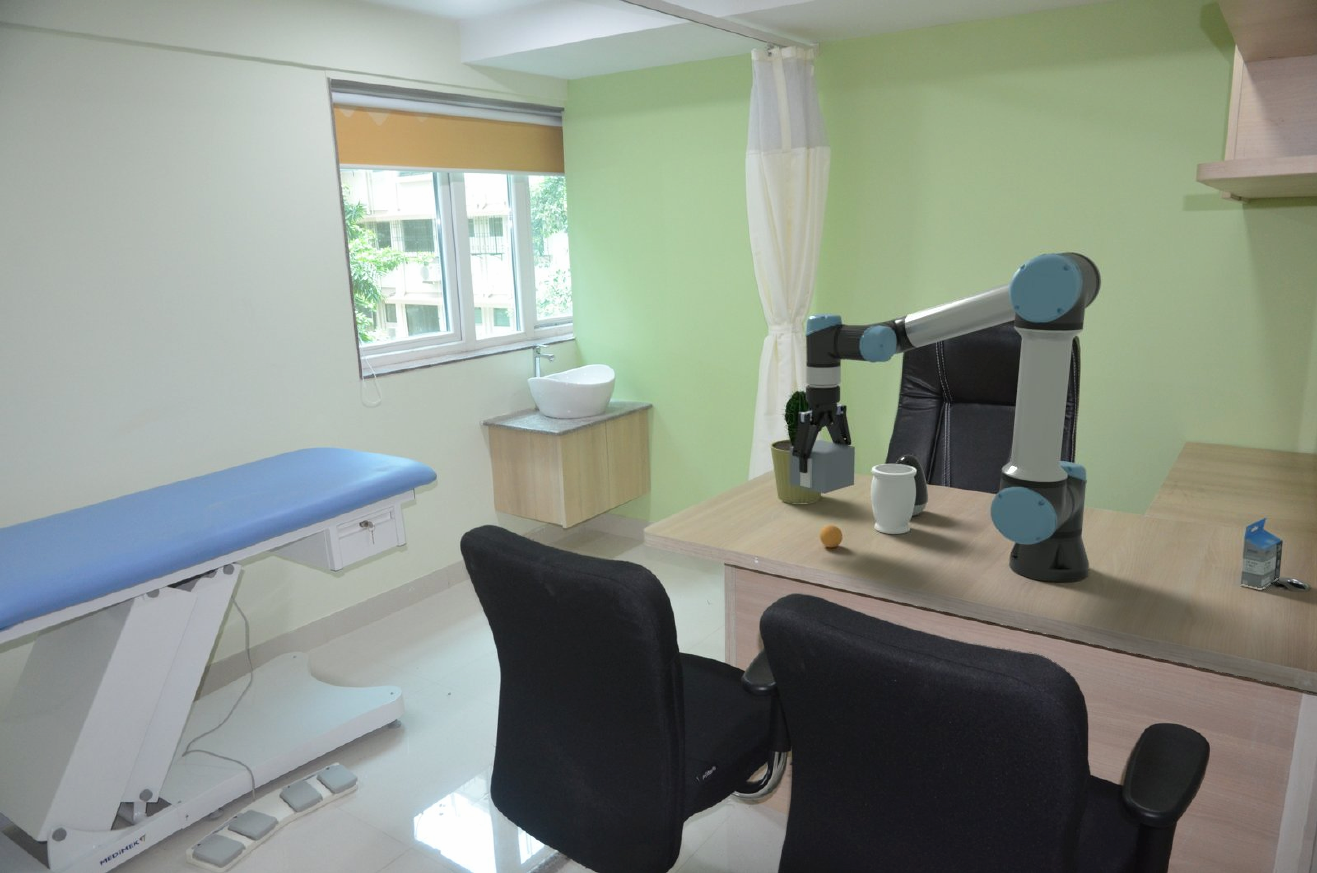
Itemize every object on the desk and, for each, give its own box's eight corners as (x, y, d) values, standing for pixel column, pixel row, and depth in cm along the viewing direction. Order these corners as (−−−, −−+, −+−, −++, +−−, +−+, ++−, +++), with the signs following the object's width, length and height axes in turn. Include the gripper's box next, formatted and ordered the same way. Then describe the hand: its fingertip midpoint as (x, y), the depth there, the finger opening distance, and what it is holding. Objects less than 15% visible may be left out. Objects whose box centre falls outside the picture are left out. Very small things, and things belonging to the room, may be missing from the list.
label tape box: (1261, 592, 170) (1268, 531, 167) (1237, 586, 173) (1244, 526, 170) (1279, 581, 175) (1287, 521, 172) (1256, 575, 178) (1263, 516, 175)
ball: (826, 524, 204) (832, 545, 204) (813, 529, 201) (818, 551, 201) (843, 521, 201) (849, 543, 200) (829, 526, 197) (835, 548, 197)
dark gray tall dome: (932, 510, 226) (935, 452, 222) (920, 521, 217) (922, 461, 214) (893, 505, 231) (895, 448, 228) (880, 516, 222) (881, 457, 219)
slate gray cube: (854, 484, 200) (854, 446, 198) (824, 493, 194) (825, 454, 192) (819, 476, 208) (819, 439, 206) (789, 484, 201) (789, 447, 200)
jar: (916, 537, 206) (918, 474, 203) (870, 535, 208) (872, 473, 205) (912, 523, 216) (914, 463, 213) (869, 521, 218) (870, 462, 215)
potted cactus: (762, 493, 245) (761, 386, 239) (813, 488, 249) (814, 382, 242) (782, 509, 231) (782, 395, 224) (837, 503, 234) (839, 391, 228)
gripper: (842, 377, 206) (841, 469, 210) (775, 389, 191) (775, 488, 196) (869, 380, 200) (866, 475, 205) (801, 393, 186) (801, 495, 191)
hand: (822, 481), depth 200 cm, fingers closed on slate gray cube, 10 cm apart
